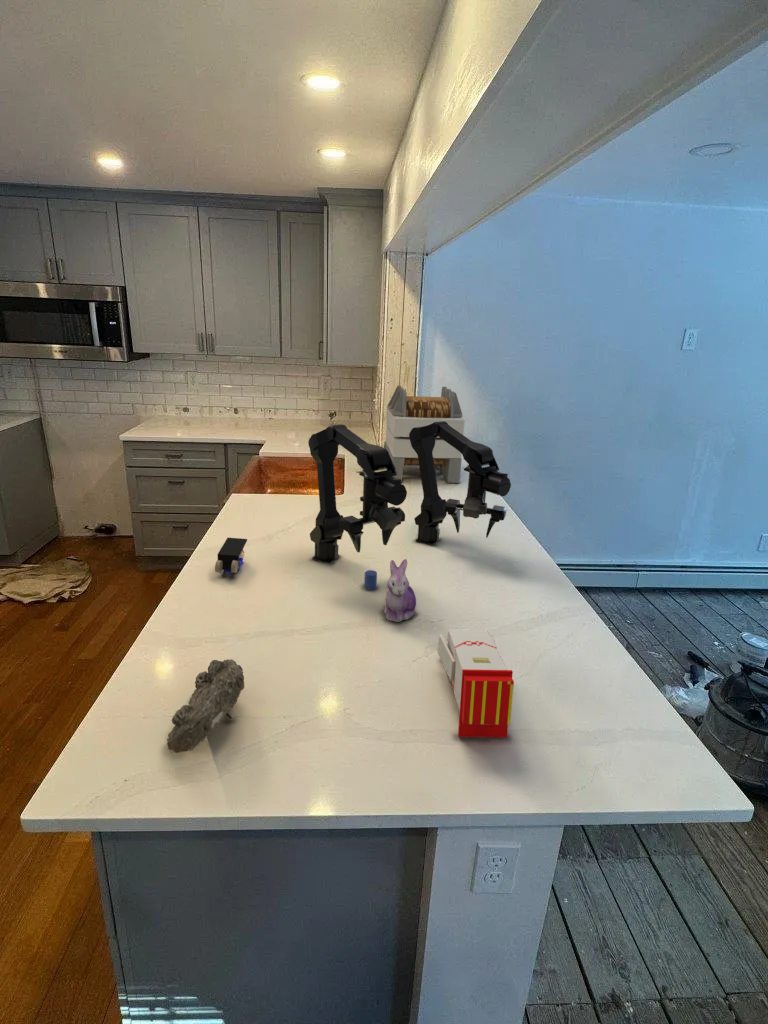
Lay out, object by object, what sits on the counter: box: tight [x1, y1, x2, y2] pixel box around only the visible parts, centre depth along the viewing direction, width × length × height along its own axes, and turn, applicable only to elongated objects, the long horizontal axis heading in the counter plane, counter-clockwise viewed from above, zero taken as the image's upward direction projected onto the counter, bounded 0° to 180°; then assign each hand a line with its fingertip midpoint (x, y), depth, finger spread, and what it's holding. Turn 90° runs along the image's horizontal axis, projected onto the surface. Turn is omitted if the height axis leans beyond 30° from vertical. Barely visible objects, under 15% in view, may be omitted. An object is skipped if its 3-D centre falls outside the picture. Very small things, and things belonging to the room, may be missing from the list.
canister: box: [363, 569, 378, 591], centre depth 160 cm, size 4×4×4 cm
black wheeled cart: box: [214, 537, 248, 578], centre depth 166 cm, size 7×8×15 cm
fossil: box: [166, 658, 245, 754], centre depth 106 cm, size 22×10×15 cm
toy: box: [437, 628, 515, 738], centre depth 117 cm, size 12×13×30 cm
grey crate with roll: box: [383, 384, 465, 484], centre depth 268 cm, size 34×33×41 cm
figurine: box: [384, 558, 417, 623], centre depth 145 cm, size 9×10×15 cm
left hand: (371, 548), depth 157 cm, fingers open, 9 cm apart
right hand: (472, 534), depth 179 cm, fingers open, 9 cm apart
